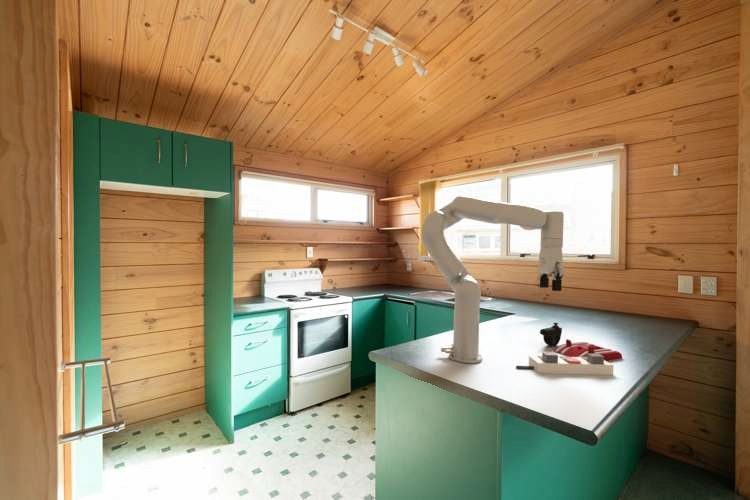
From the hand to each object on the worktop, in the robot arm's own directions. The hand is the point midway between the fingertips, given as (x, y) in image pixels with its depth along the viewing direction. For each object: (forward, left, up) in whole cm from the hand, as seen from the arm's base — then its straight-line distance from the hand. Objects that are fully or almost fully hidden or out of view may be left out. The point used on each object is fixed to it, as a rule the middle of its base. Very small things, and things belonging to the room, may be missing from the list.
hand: (550, 289), depth 134 cm
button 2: (+5, -8, -27) cm, 29 cm away
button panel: (+2, -6, -28) cm, 29 cm away
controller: (+13, +25, -28) cm, 40 cm away
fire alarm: (+22, +13, -29) cm, 39 cm away
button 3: (+13, -8, -25) cm, 29 cm away
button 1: (-3, -8, -25) cm, 27 cm away
